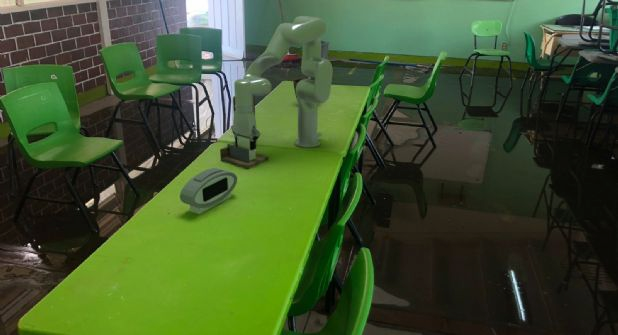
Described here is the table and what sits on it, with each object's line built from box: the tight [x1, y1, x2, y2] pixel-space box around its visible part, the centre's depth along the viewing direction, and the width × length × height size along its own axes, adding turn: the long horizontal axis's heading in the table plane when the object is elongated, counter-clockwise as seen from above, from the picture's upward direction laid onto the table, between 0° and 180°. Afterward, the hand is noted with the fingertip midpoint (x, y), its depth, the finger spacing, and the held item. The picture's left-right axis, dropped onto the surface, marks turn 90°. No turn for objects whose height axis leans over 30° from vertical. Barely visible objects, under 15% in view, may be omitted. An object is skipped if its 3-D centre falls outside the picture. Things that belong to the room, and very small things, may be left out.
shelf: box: [219, 142, 270, 170], centre depth 212 cm, size 14×16×8 cm
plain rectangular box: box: [237, 135, 257, 161], centre depth 210 cm, size 4×7×10 cm, turn 53°
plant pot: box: [292, 78, 315, 103], centre depth 297 cm, size 15×15×16 cm
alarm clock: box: [179, 167, 238, 215], centre depth 171 cm, size 23×6×13 cm, turn 148°
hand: (246, 147), depth 211 cm, fingers open, 8 cm apart
